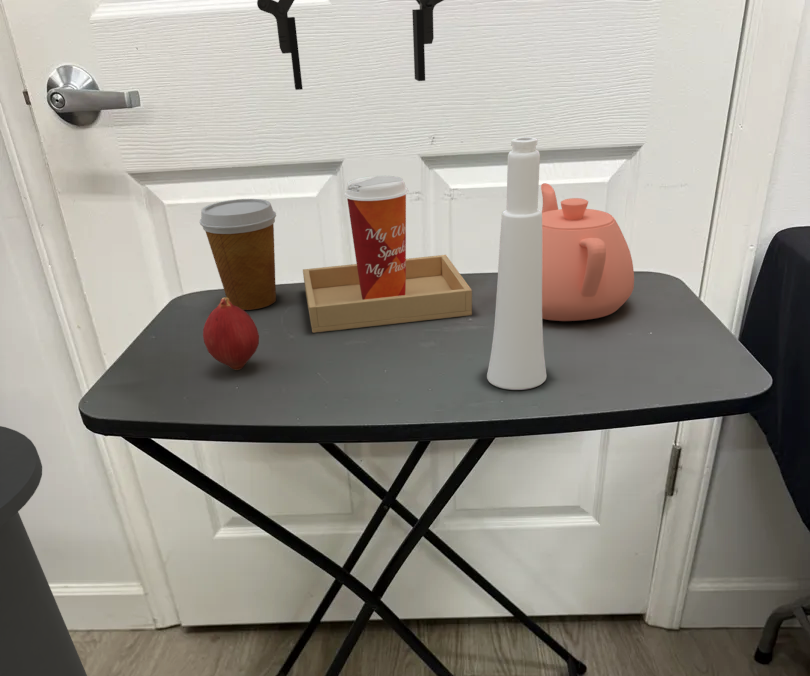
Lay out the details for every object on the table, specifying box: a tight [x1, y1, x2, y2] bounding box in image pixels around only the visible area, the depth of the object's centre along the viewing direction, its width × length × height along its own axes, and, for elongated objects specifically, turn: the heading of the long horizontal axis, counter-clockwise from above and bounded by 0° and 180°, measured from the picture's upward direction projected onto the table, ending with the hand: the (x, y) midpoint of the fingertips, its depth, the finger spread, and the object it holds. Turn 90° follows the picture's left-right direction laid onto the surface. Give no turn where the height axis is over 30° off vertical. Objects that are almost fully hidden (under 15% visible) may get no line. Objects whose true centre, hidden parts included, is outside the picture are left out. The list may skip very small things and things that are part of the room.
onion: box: [202, 296, 260, 371], centre depth 83 cm, size 6×6×8 cm
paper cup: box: [343, 175, 409, 300], centre depth 95 cm, size 8×8×14 cm
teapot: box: [540, 182, 635, 322], centre depth 92 cm, size 22×15×12 cm
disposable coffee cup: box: [199, 198, 277, 311], centre depth 99 cm, size 10×10×12 cm
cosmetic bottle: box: [486, 136, 548, 391], centre depth 72 cm, size 6×6×22 cm
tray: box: [302, 254, 473, 334], centre depth 99 cm, size 20×16×3 cm
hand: (359, 84), depth 86 cm, fingers open, 13 cm apart
